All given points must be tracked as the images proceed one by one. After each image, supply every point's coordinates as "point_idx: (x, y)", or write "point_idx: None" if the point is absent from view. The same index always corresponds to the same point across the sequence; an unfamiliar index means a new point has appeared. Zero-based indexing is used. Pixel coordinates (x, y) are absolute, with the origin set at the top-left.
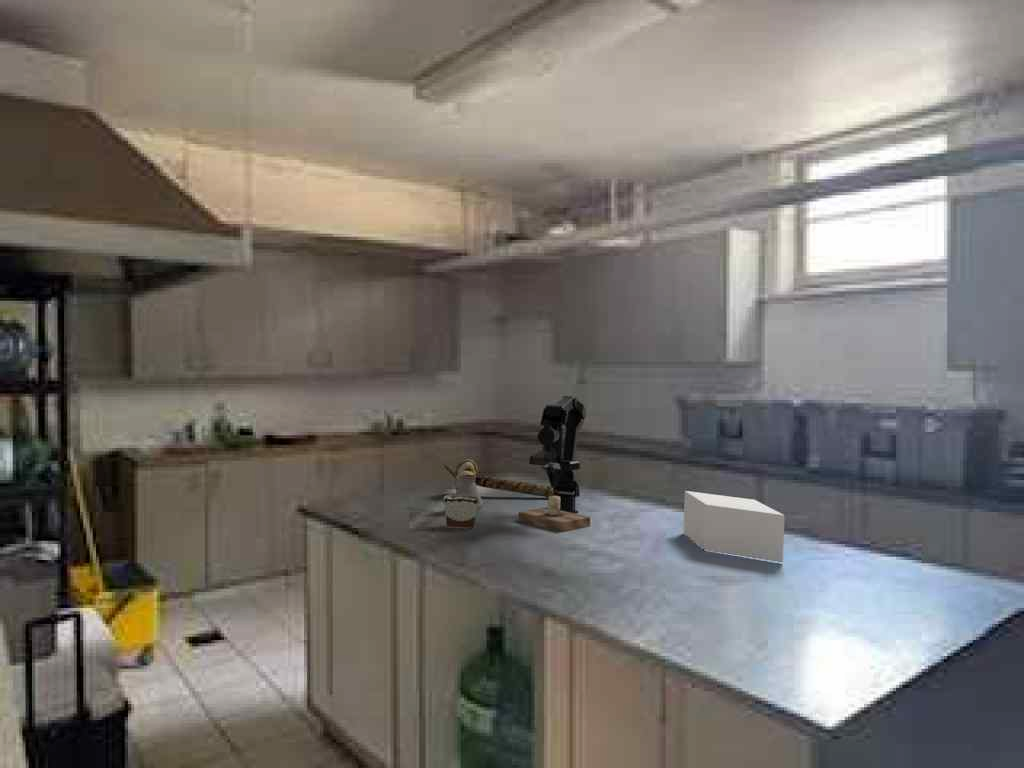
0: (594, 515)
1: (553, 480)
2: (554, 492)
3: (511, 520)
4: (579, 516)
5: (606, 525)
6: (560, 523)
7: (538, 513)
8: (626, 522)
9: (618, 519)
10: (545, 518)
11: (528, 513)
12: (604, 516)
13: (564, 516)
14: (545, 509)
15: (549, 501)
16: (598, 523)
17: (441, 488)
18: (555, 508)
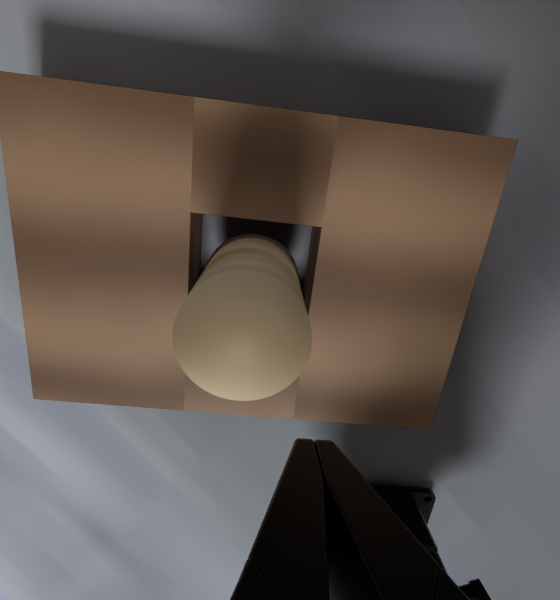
0: (229, 554)
1: (279, 525)
2: (482, 597)
3: (528, 122)
4: (93, 366)
5: (27, 440)
6: (12, 74)
7: (364, 228)
8: (23, 547)
9: (94, 566)
10: (203, 109)
11: (425, 163)
12: (182, 568)
13: (158, 290)
14: (401, 372)
15: (263, 264)
16: (88, 446)
17: None
18: (205, 268)
